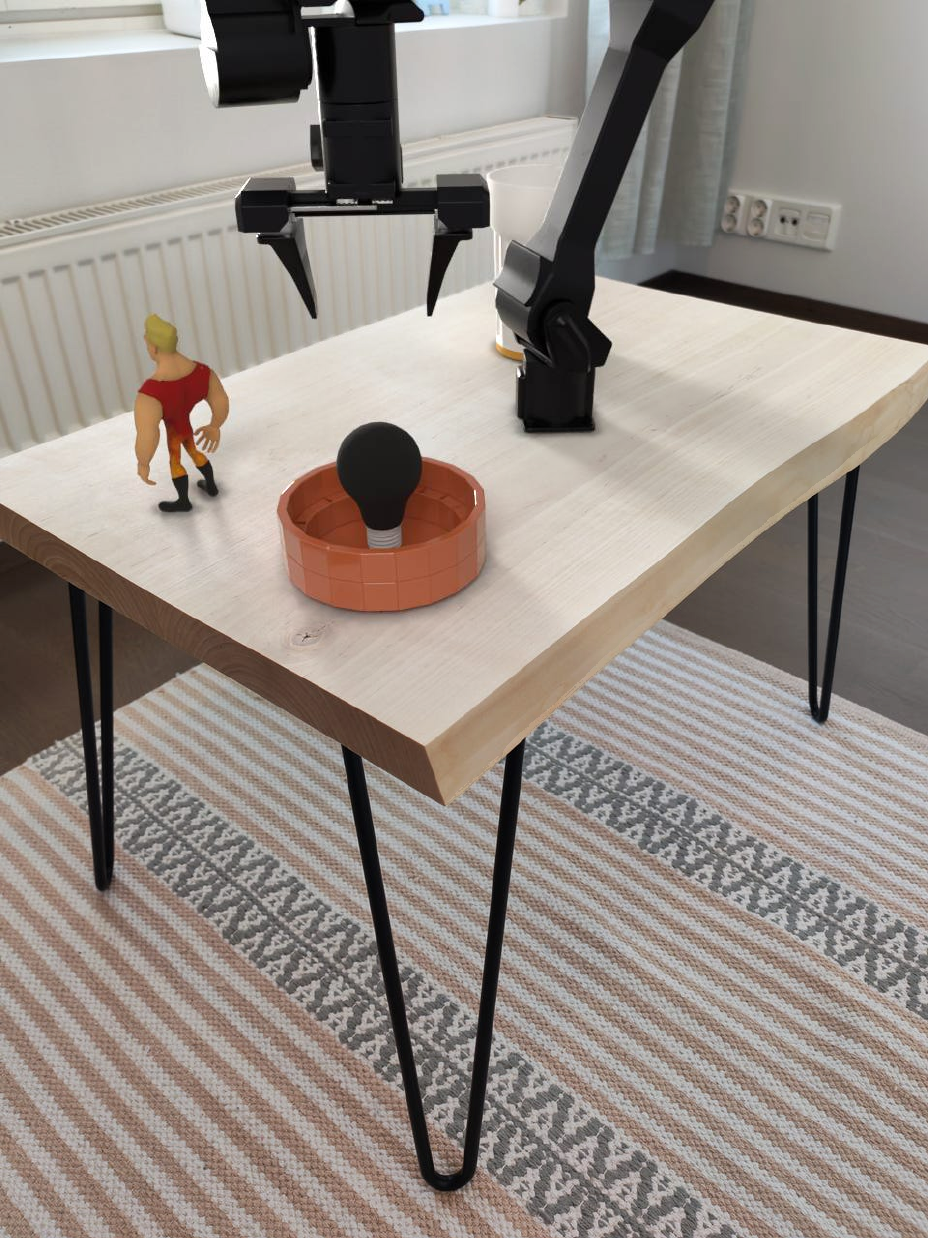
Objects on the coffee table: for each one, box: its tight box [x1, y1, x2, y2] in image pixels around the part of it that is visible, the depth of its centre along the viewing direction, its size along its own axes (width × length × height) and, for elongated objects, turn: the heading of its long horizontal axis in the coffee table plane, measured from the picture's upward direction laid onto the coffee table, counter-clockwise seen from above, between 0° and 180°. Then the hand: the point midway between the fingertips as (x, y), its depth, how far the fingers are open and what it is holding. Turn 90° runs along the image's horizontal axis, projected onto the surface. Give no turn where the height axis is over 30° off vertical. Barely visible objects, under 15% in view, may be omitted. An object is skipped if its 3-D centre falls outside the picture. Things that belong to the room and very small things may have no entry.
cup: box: [486, 163, 565, 362], centre depth 101 cm, size 11×11×17 cm
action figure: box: [133, 313, 230, 513], centre depth 75 cm, size 10×4×15 cm, turn 149°
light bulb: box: [335, 421, 423, 549], centre depth 68 cm, size 6×6×10 cm
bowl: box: [276, 456, 487, 612], centre depth 70 cm, size 14×14×5 cm
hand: (372, 316), depth 79 cm, fingers open, 9 cm apart
